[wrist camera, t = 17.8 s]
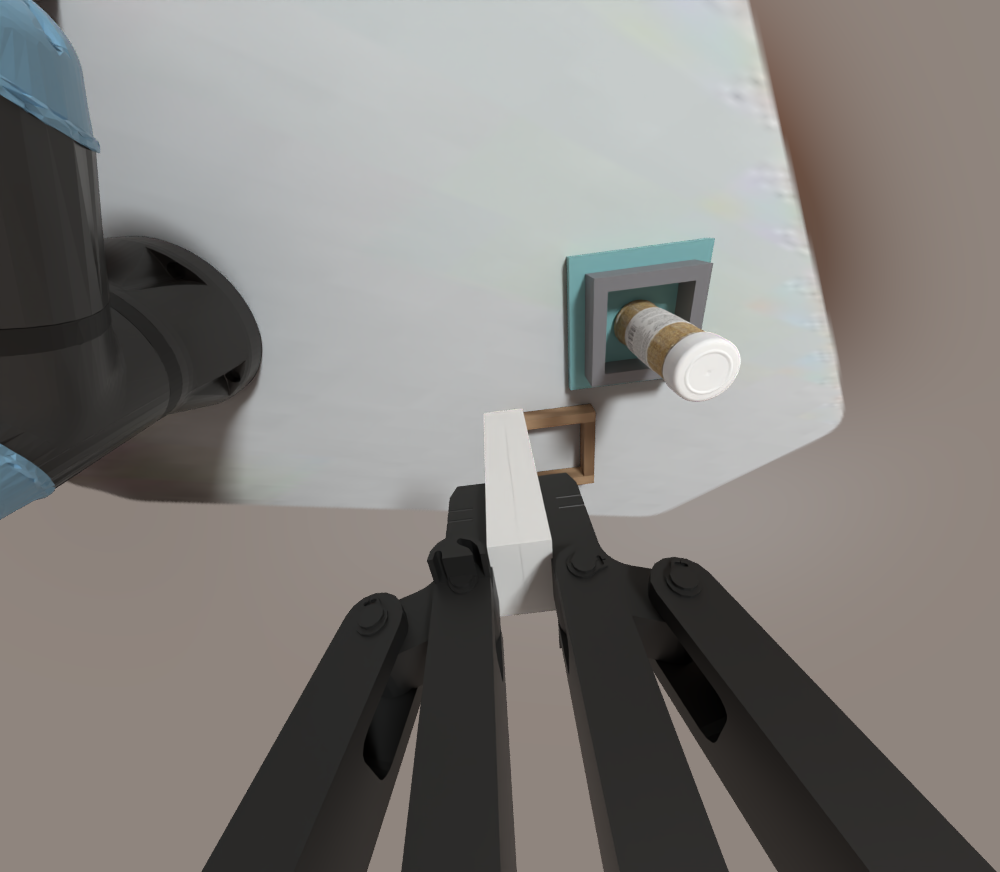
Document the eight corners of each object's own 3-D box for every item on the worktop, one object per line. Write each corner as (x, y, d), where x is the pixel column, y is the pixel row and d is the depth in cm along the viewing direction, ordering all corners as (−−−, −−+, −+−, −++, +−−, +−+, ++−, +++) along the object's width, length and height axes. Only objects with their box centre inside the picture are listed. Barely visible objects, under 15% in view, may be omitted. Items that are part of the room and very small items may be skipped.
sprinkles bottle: (647, 348, 37) (722, 408, 26) (605, 341, 37) (663, 399, 25) (665, 301, 35) (757, 345, 23) (621, 293, 34) (692, 334, 23)
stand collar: (512, 482, 47) (513, 492, 45) (503, 414, 41) (504, 423, 40) (589, 472, 47) (593, 482, 45) (590, 403, 41) (595, 412, 40)
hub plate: (568, 386, 40) (577, 402, 37) (566, 256, 33) (576, 261, 30) (686, 371, 40) (705, 386, 36) (708, 237, 33) (735, 240, 30)
